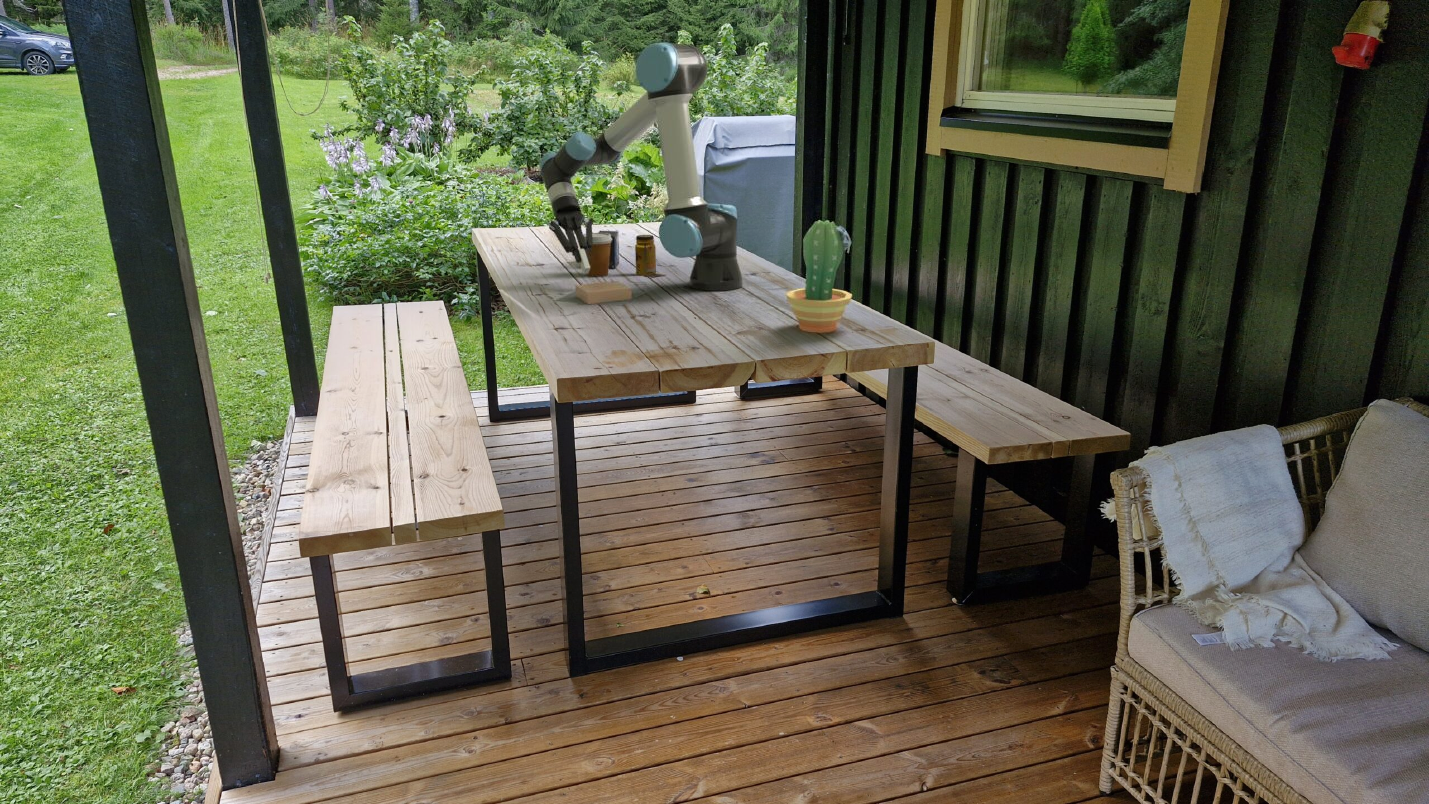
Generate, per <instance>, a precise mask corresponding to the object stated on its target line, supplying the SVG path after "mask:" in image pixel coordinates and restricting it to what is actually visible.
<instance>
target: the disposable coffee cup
mask: <svg viewBox="0 0 1429 804" xmlns="http://www.w3.org/2000/svg"><path fill="white" fill-rule="evenodd" d="M583 235H584V238H585V241H586V233H583ZM592 239H593V246H592V249H591V251H588V253H589V256H590V260H589V265H590V271H589V273H588V274H586V276H588V277H592V278H593V277H594V278H595V277H597V278H599V277H606V276H608V275H609V270H610V269H609V258H610V246H611V240H612V238H611V235H610V234H608V233H598V232H592Z"/></svg>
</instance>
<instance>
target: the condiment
mask: <svg viewBox="0 0 1429 804" xmlns="http://www.w3.org/2000/svg"><path fill="white" fill-rule="evenodd" d="M635 240H636V241H635V243H636V244H635V247H634V250H635V254H634V255H635V273H636V274H633V275H634V276H635V275H638V276H642V277H644V278H647V279H650V278H655V277H656V278H657V277H662V276H666V274H664V273H661V272H660V273H659V272H657V261H656V260H657V258H656V257H657V255H656V244H655V236H654V235H652V234H640V235H636V237H635ZM648 277H649V278H648Z"/></svg>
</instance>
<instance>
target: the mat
mask: <svg viewBox="0 0 1429 804" xmlns="http://www.w3.org/2000/svg"><path fill="white" fill-rule="evenodd" d="M646 293H647V292H646V291H633V290H631V299H629V300H623V301H614V302H605V303H596V304H595V305H604V306H614V307H616V306H617V307H618V306H619V307H622V306H624V305H625V304H628V303H629V302H631V301H632V300H635V299H637V298H638V297H641V296H642V295H644V294H646ZM554 302H566V303H577V304H578V303H580V304H587V303H586V302H584V301H583V300H581V299H579V298H578V297H576V292H575V291H573V292H571V293H568V294H566V295H564V296H562V297H559V298H557V299H555V300H554Z"/></svg>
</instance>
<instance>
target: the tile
mask: <svg viewBox="0 0 1429 804" xmlns="http://www.w3.org/2000/svg"><path fill="white" fill-rule="evenodd" d="M574 286H575V289H574V292H576V297H578V298H579V299H581V300H583V301H584V302H586V303H585V304H588V305H597V304H596V303H605V302H614V301H623V300H629V299H631V291H632V287H630V286H628V285H626V284H624V283H622V282H620V281H617V280H616V281H606V282H598V283H597V282H595V283H587V284H586V283H585V284H576V285H574Z"/></svg>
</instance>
